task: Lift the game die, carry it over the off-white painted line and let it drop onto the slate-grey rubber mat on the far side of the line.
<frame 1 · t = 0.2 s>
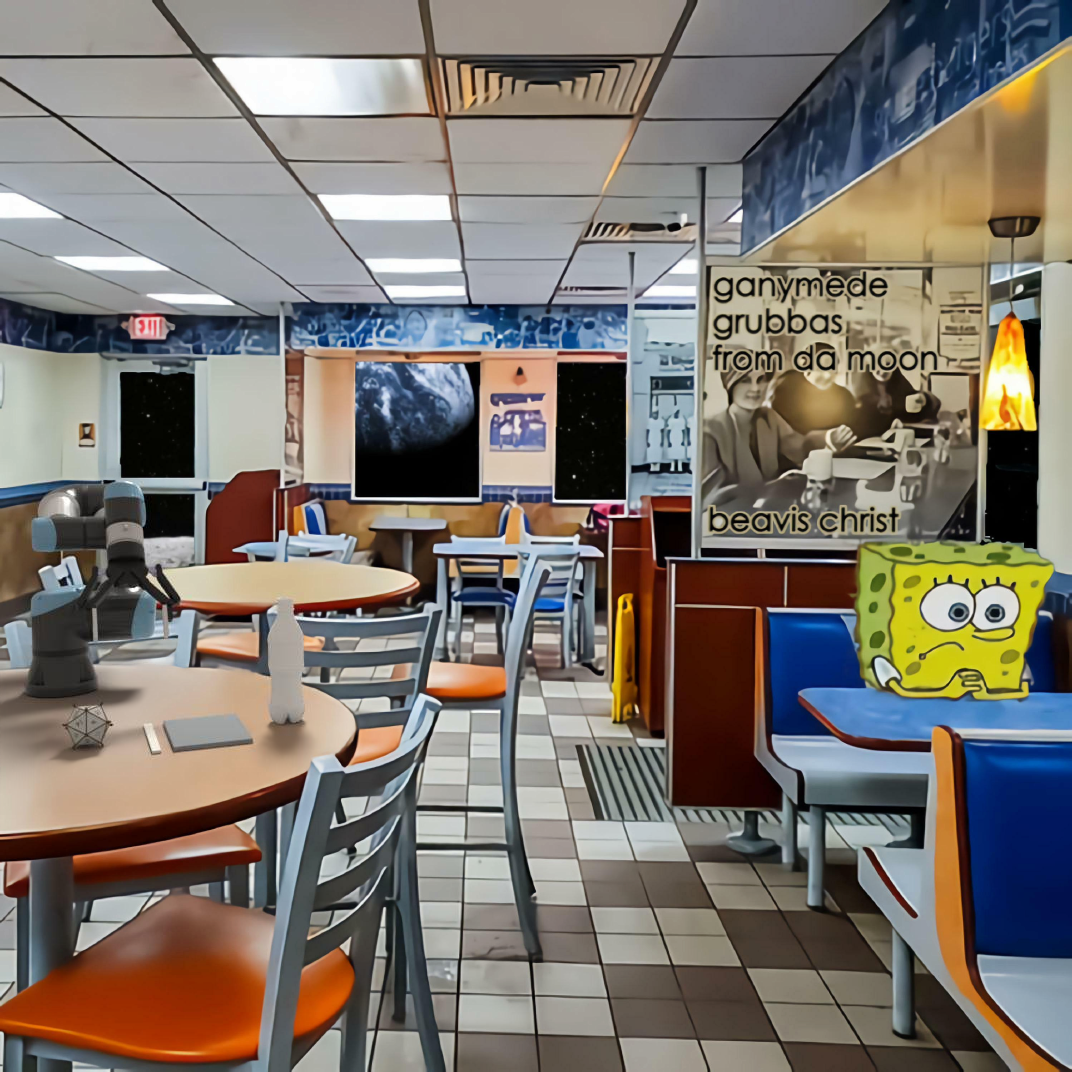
hand: (131, 638, 216), 16 cm above the table, tool tilted 35°, fingers open, 13 cm apart
water bottle: (287, 721, 213), on the table
game die: (88, 747, 195), on the table
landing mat: (206, 733, 203), on the table
throw line: (151, 739, 199), on the table
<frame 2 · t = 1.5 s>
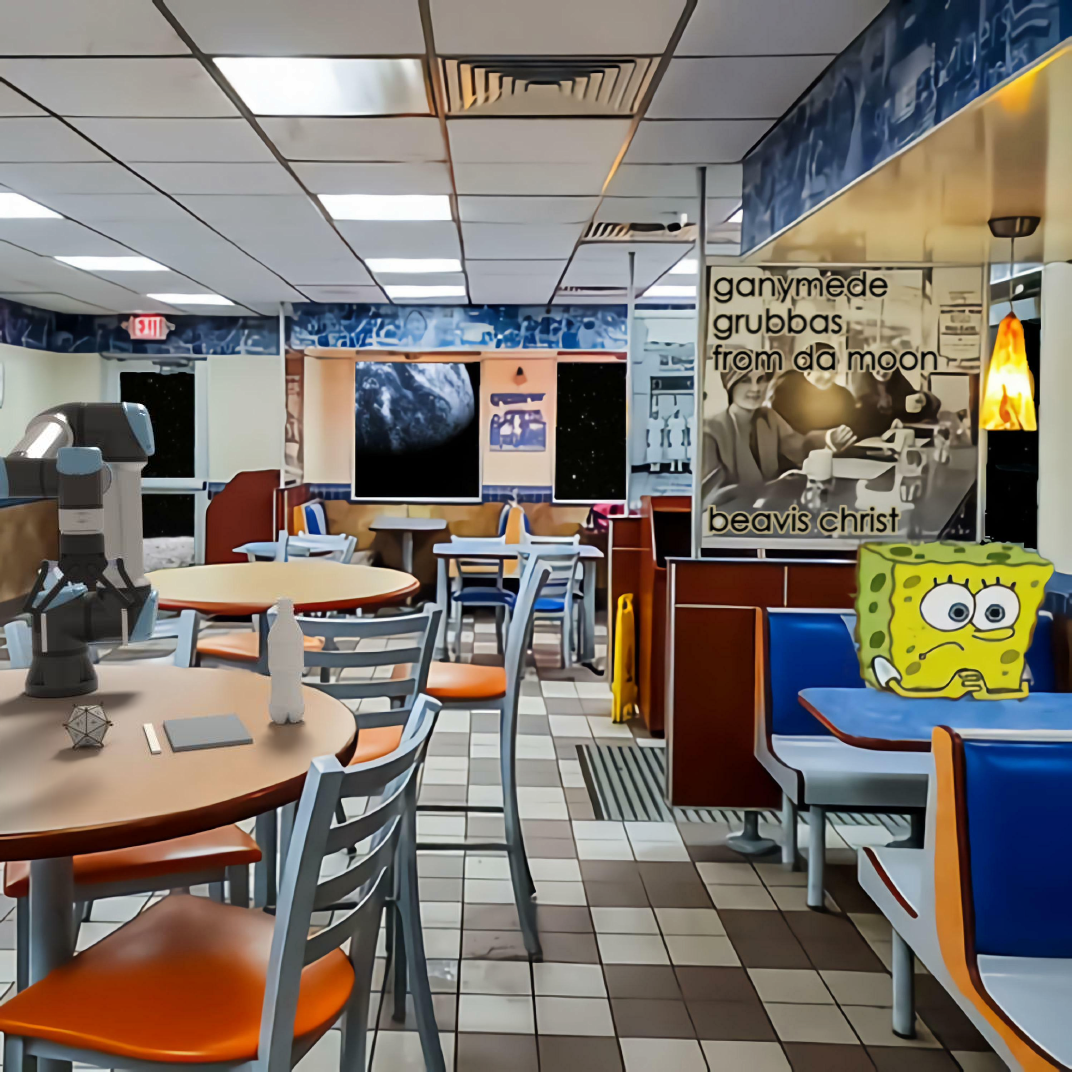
hand: (85, 647, 193), 18 cm above the table, tool pointing down, fingers open, 13 cm apart
nothing on the table moved.
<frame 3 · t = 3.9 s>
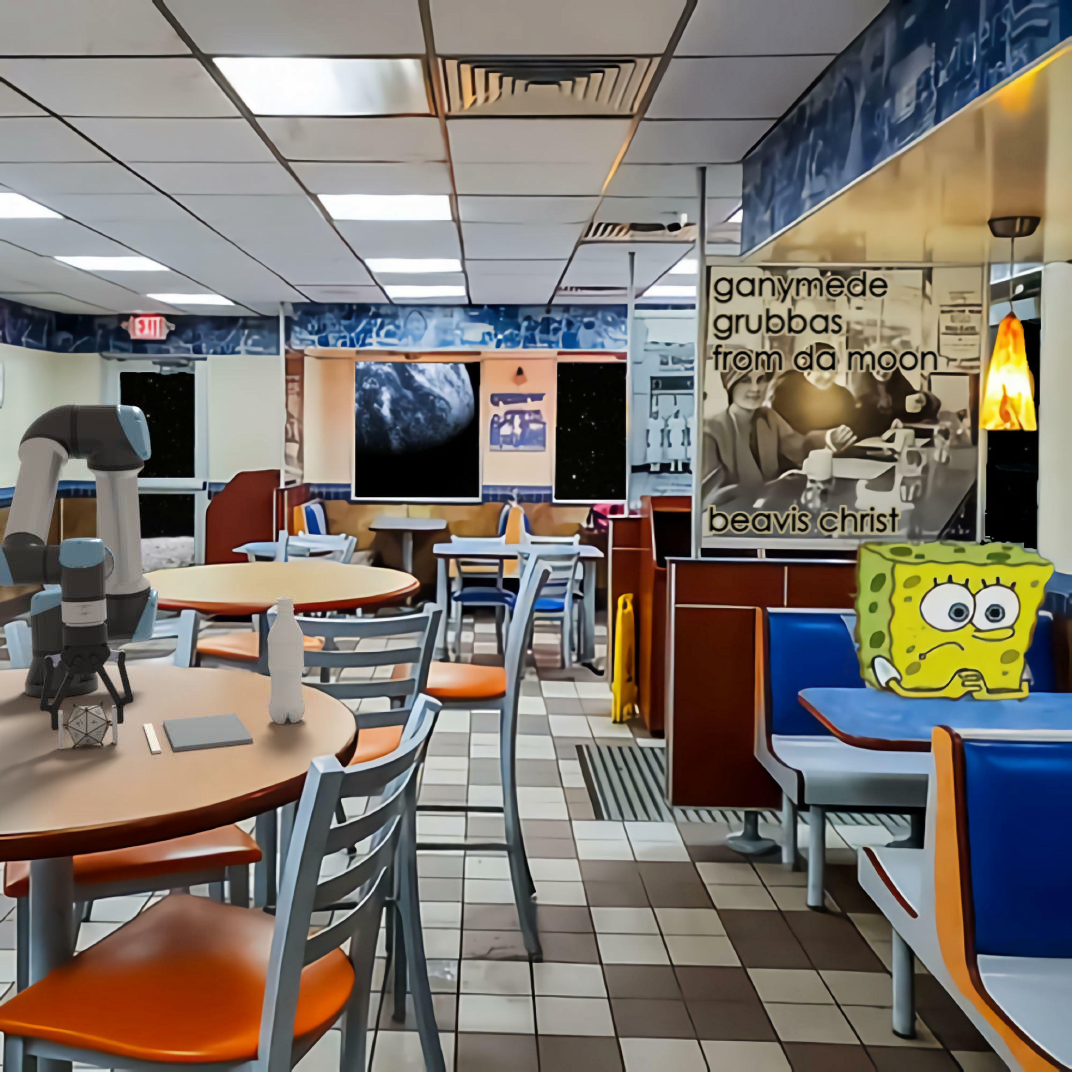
hand: (88, 743, 194), 0 cm above the table, tool pointing down, fingers closed on game die, 8 cm apart
game die: (88, 747, 195), on the table, touching gripper
everything else where it was.
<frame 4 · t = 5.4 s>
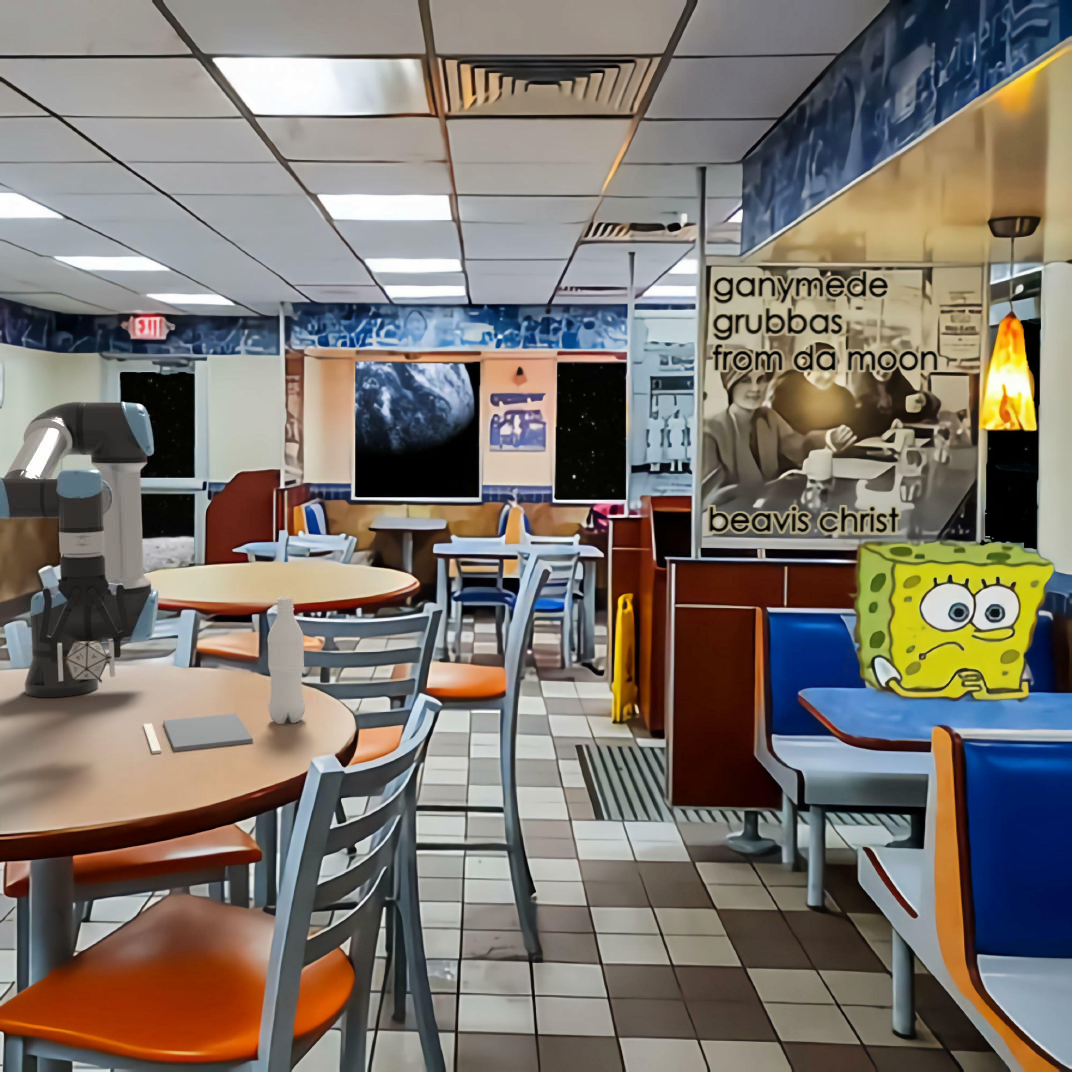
hand: (86, 677, 194), 13 cm above the table, tool pointing down, fingers closed on game die, 8 cm apart
game die: (86, 682, 194), point 12 cm above the table, touching gripper
everything else where it was.
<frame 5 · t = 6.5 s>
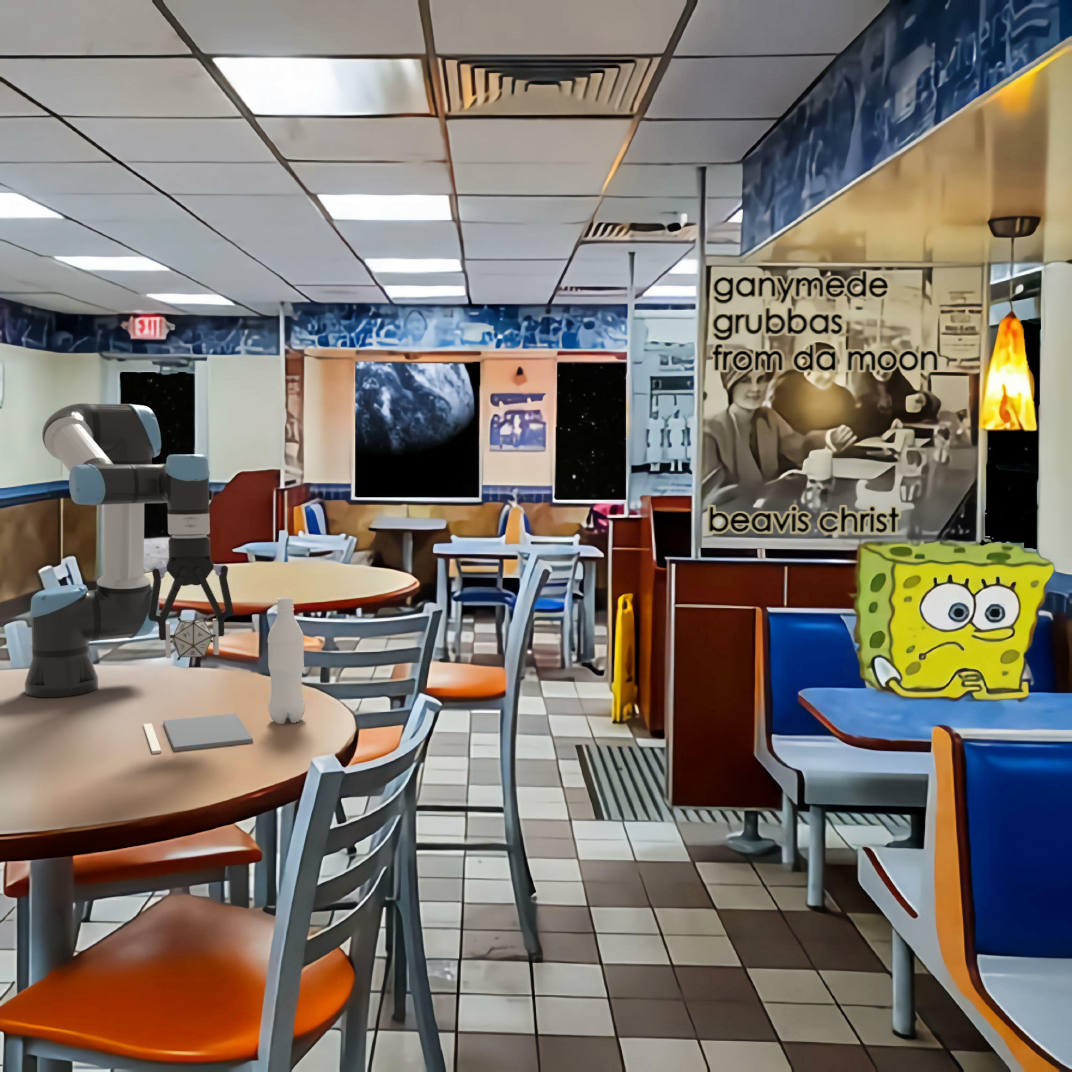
hand: (192, 655, 201), 16 cm above the table, tool pointing down, fingers closed on game die, 8 cm apart
game die: (191, 660, 201), point 15 cm above the table, touching gripper
everything else where it was.
when the fingers open (4 cm above the table, at t = 8.4 s): game die drops 2 cm, resting on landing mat.
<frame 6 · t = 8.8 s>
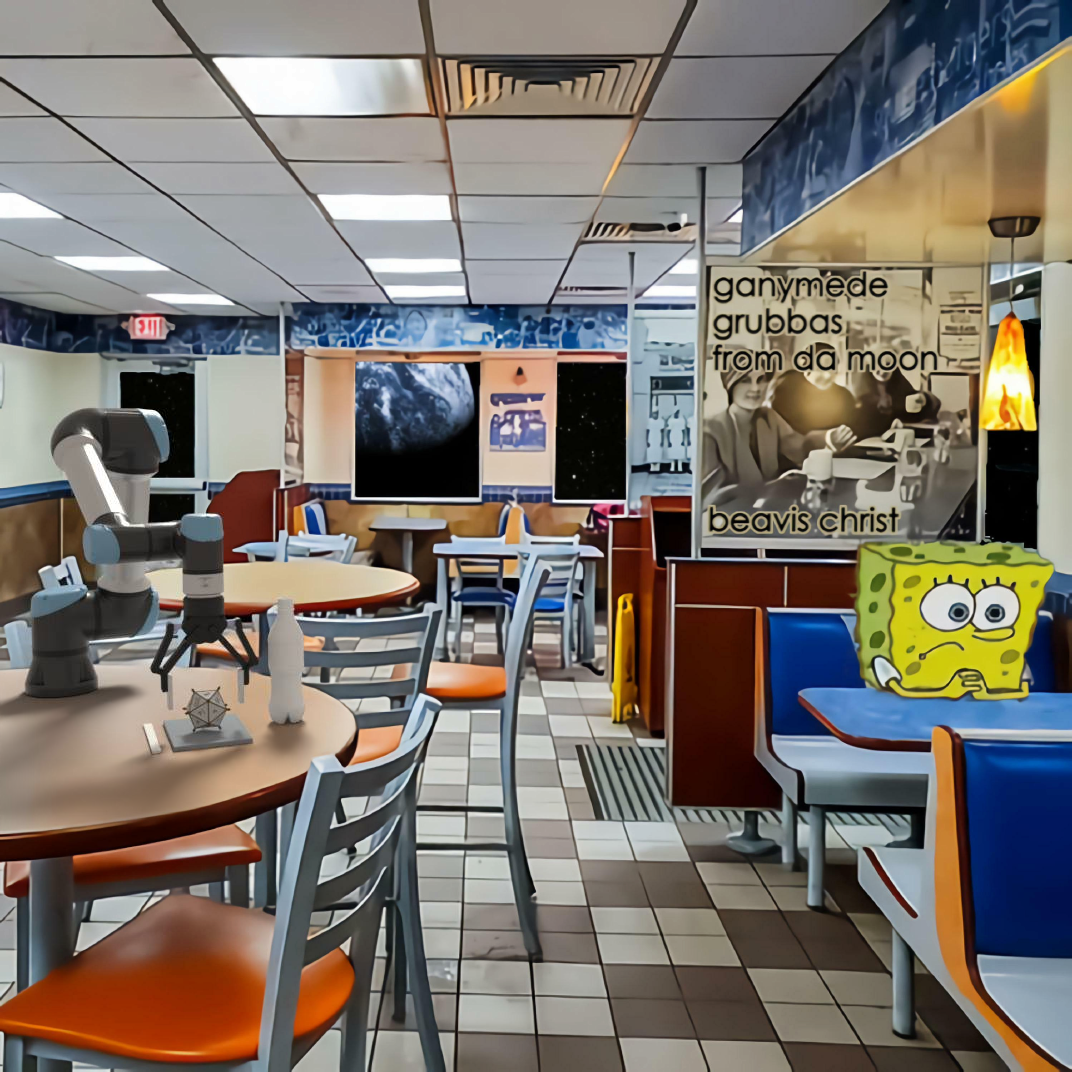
hand: (206, 705, 203), 6 cm above the table, tool pointing down, fingers open, 12 cm apart
game die: (206, 727, 203), point 1 cm above the table, touching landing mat
everything else where it was.
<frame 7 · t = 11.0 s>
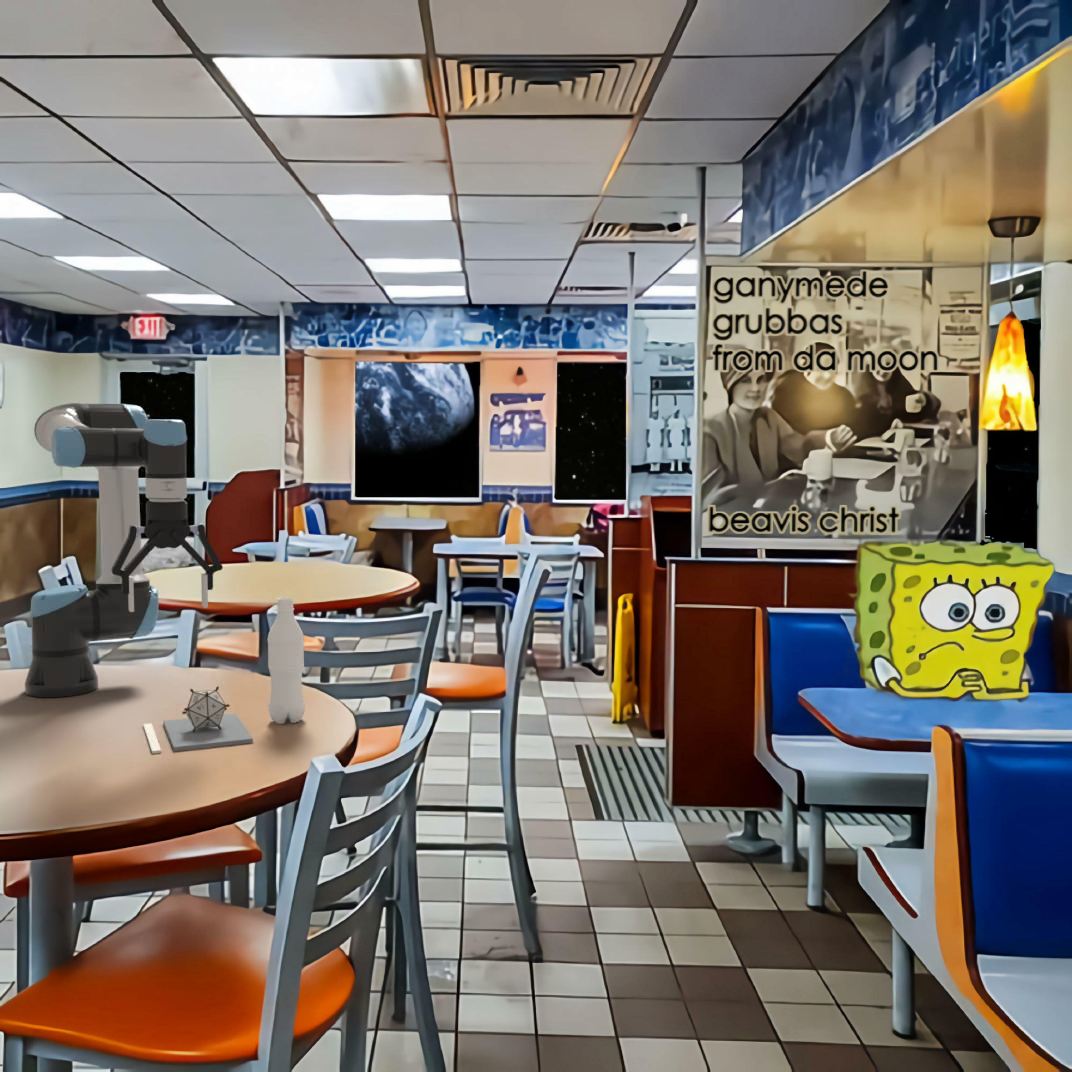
hand: (168, 608, 205), 24 cm above the table, tool pointing down, fingers open, 13 cm apart
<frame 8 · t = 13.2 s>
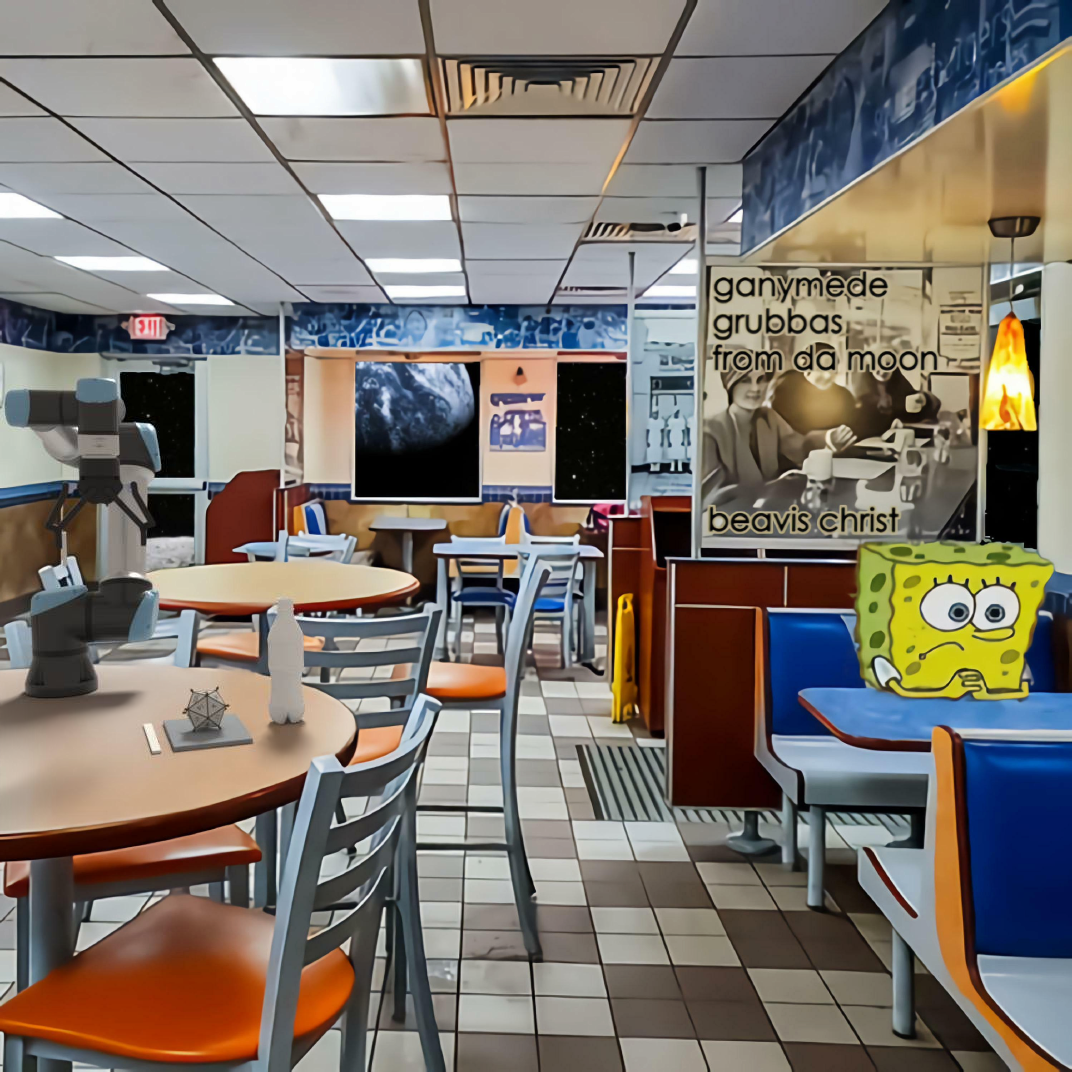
hand: (102, 564, 210), 32 cm above the table, tool pointing down, fingers open, 13 cm apart
at the end: game die inside the target area (1.4 cm from its centre), point 0.6 cm above the table; the gripper is holding nothing; game die moved 20.9 cm from its start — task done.
